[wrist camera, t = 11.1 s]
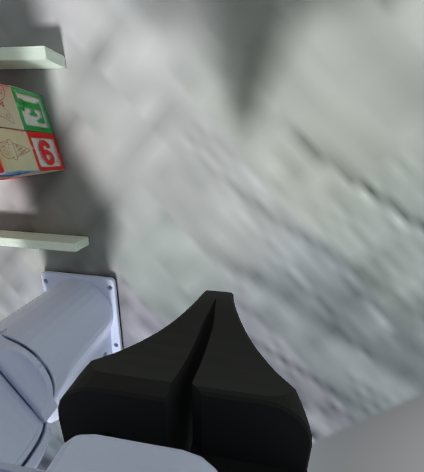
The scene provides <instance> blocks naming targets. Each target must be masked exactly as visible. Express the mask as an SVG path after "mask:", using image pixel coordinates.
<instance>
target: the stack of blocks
mask: <svg viewBox="0 0 424 472" xmlns="http://www.w3.org/2000/svg"><path fill="white" fill-rule="evenodd" d="M62 170H65V167H64V164H63V161H62V158H61V155H60V152H59V149H58V146H57V142H56V139H55V136H54V134H53V132H52V128H51V125H50V122H49V119H48V116H47V112H46V109H45V106H44V103H43V100H42V96H41V95H39V94H36V93H33V92H30V91H27V90H24V89H21V88H17V87H15V86H11V85H4V84H1V83H0V180H5V179H13V178H19V177H25V176H31V175H39V174H44V173H50V172H56V171H62Z"/></svg>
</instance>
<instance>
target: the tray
mask: <svg viewBox="0 0 424 472" xmlns="http://www.w3.org/2000/svg"><path fill="white" fill-rule="evenodd" d="M59 68H66V65H65V58H64V56H62V55H61V54H59V53H57V52H55V51H53V50H51V49H49V48H47V47H46V46H24V47H0V69H59ZM88 245H89V238H88V237H85V236H72V235H59V234H46V233H34V232H21V231H8V230H0V246H12V247H23V248H35V249H46V250H58V251H69V252H77V251H79V250H80V249H82V248H84V247H86V246H88Z"/></svg>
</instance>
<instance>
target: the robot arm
mask: <svg viewBox="0 0 424 472" xmlns="http://www.w3.org/2000/svg"><path fill="white" fill-rule="evenodd" d="M41 278H42V283H43V288H44V293H43V294H41V295H40V296H38V297H37V298H35V299H34V300H32V301H31V302H29V303H28V304H26V305H25V306H23V307H22V308H20V309H19V310H17V311H16V312H14V313H13V314H11V315H10V316H8V317H7V318H5V319H4V320H2V321H1V322H0V472H307V467H308V462H309V457H310V452H311V447H312V434H311V430H310V426H309V423H308V420H307V417H306V414H305V411H304V408H303V406H302V403H301V401H300V399H299V396H298V394H297V392H296V390H295V389H294V388H293V387H292V386H291V385H290V384H289V383H288V382H286V381H285V380H284V379H283V378H282V377H281V376H280V375H278V374H277V373H276V372H275V371H274V369H273V368H272V367H271V366H270V365H269V364H268V363H267V361H266V360H265V359H264V358H263V357H262V355H261V354H260V353H259V352H258V350H257V349H256V347H255V346H254V344H253V343H252V341H251V340H250V338H249V337H248V335H247V333H246V331H245V329H244V327H243V325H242V323H241V321H240V319H239V316H238V313H237V311H236V308H235V304H234V299H233V294H232V293H230V292H219V291H208V290H207V291H205V292H204V293H203V294H202V295H201V296H200V298H199V299H198V300H197V301H196V302H195V303H194V304H193V305H192V306H191V307H190V308H189V309H187V310H186V311H185V312H184V313H183V314H182V315H181V316H180V317H178V318H177V319H176V320H175V321H173V322H172V323H171V324H170V325H168V326H167V327H165V328H164V329H162V330H161V331H159V332H157V333H156V334H154V335H152V336H150V337H148V338H147V339H145V340H143V341H141V342H139V343H137V344H135V345H133V346H130V347H128V348H126V349H122V339H121V329H120V320H119V310H118V300H117V290H116V282H115V280H114V279H113V278H112V277H103V276H93V275H83V274H73V273H63V272H53V271H44V272H43V273H41ZM47 280H48V281H47ZM110 286H111V287H112V288H110ZM116 343H117V344H116ZM58 419H59V421H60V425H61V429H62V433H63V437H64V442H65V443H64V444H63V445H62V447H61V449H60V450H59V452H58V453H57V455H56V456H55V458H54V459H53V461H52V462H51V464H50V465H49V467H48V469H47V470H46V471H44V470H39V469H36V468H37V466H38V464H39V463H40V461H41V459H42V457H43V455H44V453H45V450H46V447H47V445H48V442H49V439H50V436H51V425H50V424H49V423H52V422H54V421H56V420H58Z"/></svg>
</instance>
